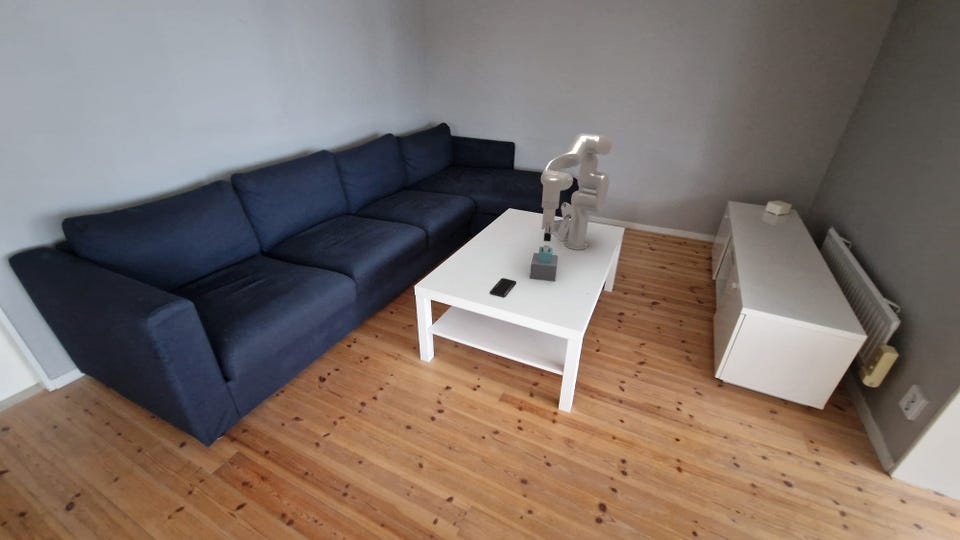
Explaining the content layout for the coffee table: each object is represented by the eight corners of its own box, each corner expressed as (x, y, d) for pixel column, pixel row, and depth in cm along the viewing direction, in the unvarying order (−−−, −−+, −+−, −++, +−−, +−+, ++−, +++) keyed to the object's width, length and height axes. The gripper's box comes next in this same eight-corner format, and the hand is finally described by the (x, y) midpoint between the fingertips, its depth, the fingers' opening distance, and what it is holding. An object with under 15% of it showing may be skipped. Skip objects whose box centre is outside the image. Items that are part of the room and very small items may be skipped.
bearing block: (532, 266, 200) (533, 252, 196) (556, 269, 197) (558, 255, 193) (529, 278, 189) (531, 263, 186) (555, 281, 187) (556, 266, 183)
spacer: (538, 255, 193) (539, 246, 190) (552, 257, 192) (552, 247, 189) (537, 261, 187) (538, 252, 185) (551, 263, 186) (552, 253, 184)
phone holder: (547, 230, 242) (550, 202, 234) (562, 228, 245) (565, 200, 236) (560, 241, 228) (564, 212, 219) (576, 239, 230) (580, 210, 222)
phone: (517, 281, 185) (504, 296, 173) (516, 283, 186) (504, 298, 174) (501, 277, 188) (488, 292, 176) (501, 279, 189) (488, 294, 177)
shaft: (541, 270, 194) (543, 245, 187) (546, 271, 194) (548, 245, 187) (541, 273, 192) (543, 247, 185) (545, 273, 192) (548, 247, 185)
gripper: (543, 197, 183) (540, 233, 192) (540, 208, 171) (537, 246, 180) (559, 198, 182) (556, 234, 191) (557, 210, 169) (554, 248, 178)
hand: (547, 240), depth 185 cm, fingers closed
